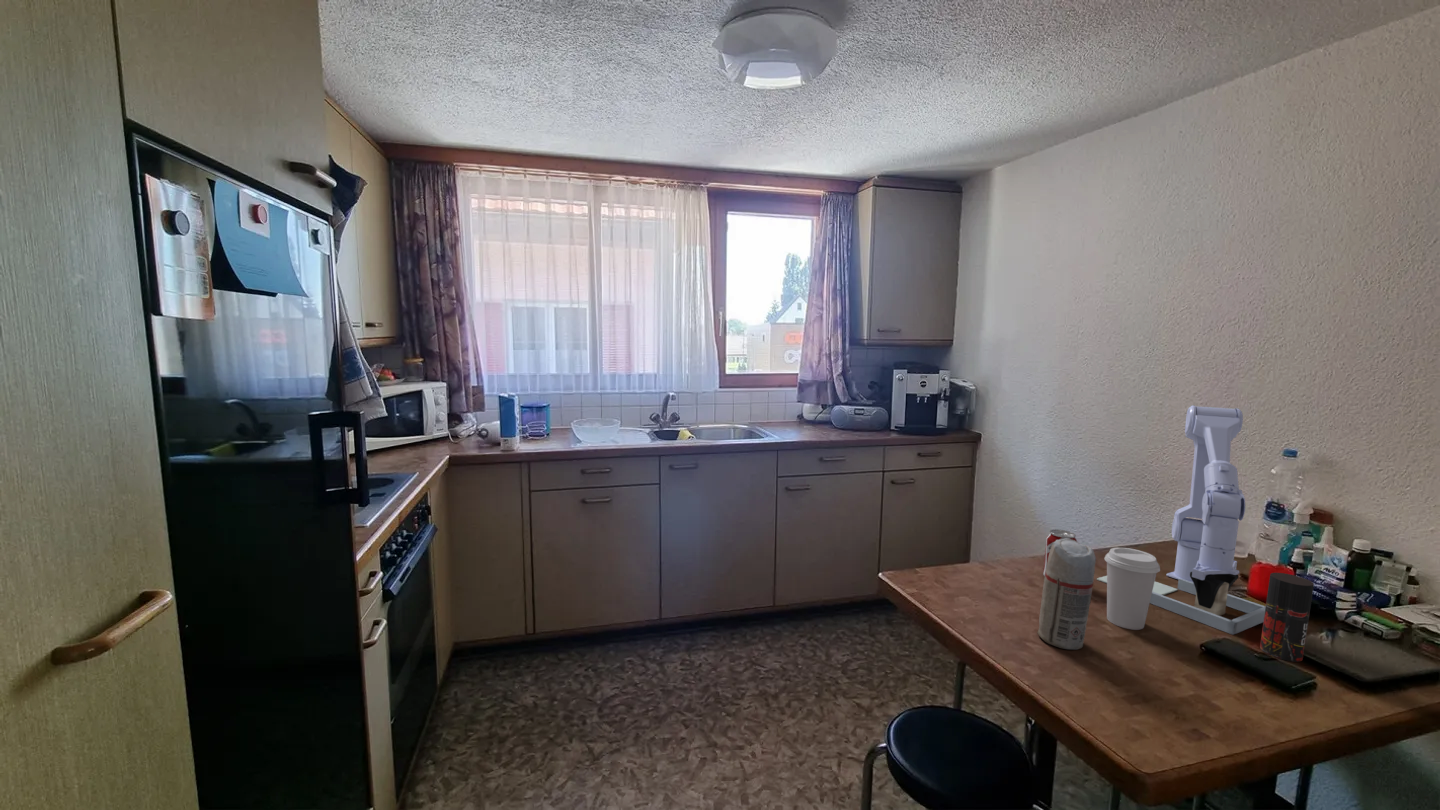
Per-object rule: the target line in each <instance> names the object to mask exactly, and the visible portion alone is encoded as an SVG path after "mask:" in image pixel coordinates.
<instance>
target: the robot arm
mask: <svg viewBox="0 0 1440 810" xmlns="http://www.w3.org/2000/svg"><path fill="white" fill-rule="evenodd" d="M1243 421H1244V414H1243V411H1242V410H1241V409H1240V408H1237V407H1236V408H1230V407H1228V408H1227V407H1214V406H1213V407H1210V406H1198V405H1190V407H1188V408H1187V412H1186V416H1185V426H1184V434H1185V438H1188V439H1190V440H1192V441H1193V446H1194V447H1193V448H1194V452H1193V462H1192V472H1191V473H1192V474H1191V482H1190V483H1191V485H1190V493H1189V494H1190V495H1189V504H1187V505H1185V506H1183V507H1180V508H1178V509H1176V511H1175V512H1174V515H1173V516H1174V517H1173V520H1172V523H1171V536H1172V539H1173V540H1174V541H1175V542H1177V549H1176V557H1175V565H1174V570H1173V571H1171V572H1167V573H1166V577H1170V578H1172V579H1176V580H1179V579H1180V578H1181V579H1184V580H1187V581H1190V582H1193V583H1194V585H1195V588H1196V592H1197V598H1198V603H1199V605H1200V606H1203V607H1206V608H1209V609H1210V608H1211V607H1212V606H1213V603H1214V600H1215V597H1216V594H1217V592H1218V590H1219V588H1220V587H1221V585H1222V584H1223V583H1224V582H1226V583H1229V587H1228V591H1229V590H1230V589H1231V587H1232V586H1233V584H1234V583H1235V582H1236V581H1237V580H1239V575H1240V570H1238V569H1237V566H1238V565H1237V564H1238V561H1237V560H1235V555H1236V554H1235V553H1236V547H1237V540H1238V539H1237V537H1238V531H1239V526H1240V525H1239V523H1240V521H1242V520H1243V519H1244V516H1245V513H1246V498H1245V494H1244V493H1243V490H1242V489H1240V485H1239V475H1238V474H1239V473H1238V468H1237V467H1236V466H1235V465H1234V464H1232V463H1231V444H1232V443H1231V441H1233V440H1234V439H1235V438H1237V435H1238V434H1239V433H1240V432H1241V430H1242V429H1243V424H1244V423H1243Z"/></svg>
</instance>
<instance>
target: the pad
mask: <svg viewBox="0 0 1440 810" xmlns="http://www.w3.org/2000/svg"><path fill="white" fill-rule="evenodd" d="M1096 580H1097V581H1099V582H1102V583H1105V584H1107V575H1103V576H1099V577H1098V578H1096ZM1178 590H1179V589H1177V588H1175V587H1172V586H1170V585H1166V584H1164V583H1161V582H1158V581H1156V580H1155V582H1154V586H1153V590H1152V592H1155V593H1158V594H1161V595H1163V596H1166V595H1168V594H1171V593H1174V592H1177V591H1178Z"/></svg>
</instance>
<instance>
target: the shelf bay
mask: <svg viewBox="0 0 1440 810" xmlns="http://www.w3.org/2000/svg"><path fill="white" fill-rule="evenodd" d="M1177 580H1178V579H1177ZM1176 589H1178V590H1179V591H1181V592H1185V593H1189V594H1192V595H1194V596H1196V588H1195V585H1194V583H1193V582H1190V581H1187V580H1184V579H1181V578H1180V579H1179V580H1178V582H1177V588H1176ZM1149 604H1151V605H1154V606H1155V607H1159V608H1162V609H1165V610H1167V611H1169V612H1172V613H1175V614H1177V615H1179V616H1183V617H1185V618H1188V619H1191V620H1193V621H1196V622H1198V623H1200V624H1204V625H1205V626H1209V627H1212V628H1214V629H1217V630H1218V631H1222V632H1225V633H1227V634H1230V635H1232V636H1233V635H1236V634H1238V633H1241V632H1243V631H1245V630H1248V629H1250V628H1252V627H1255V626H1257V625H1259V624H1263V622H1264V615H1265V608H1266V605H1263V604H1259V603H1257V602H1253V601H1250V600H1248V599H1244V598H1241V597H1238V596H1235V595H1232V594H1229V593H1228V594H1227V602H1226V607H1229V608H1232V609H1234V610H1236V611H1237V610H1238V611H1240V612H1243V613H1245V614H1243V615H1240V616H1238V617H1236V618H1233V619H1229V618H1227V617H1224V616H1222V615H1220V616H1218V615H1215V614H1213V613H1210V612H1207V611H1204V610H1202V609H1199V608H1196V607H1194V605H1191V604H1187V603H1185V602H1182V601H1179V600H1176V599H1174V598H1171V597H1169V596H1166V595H1161V594H1158V593H1155V592H1152V595H1151V599H1150V603H1149Z"/></svg>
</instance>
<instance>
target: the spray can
mask: <svg viewBox="0 0 1440 810" xmlns="http://www.w3.org/2000/svg"><path fill="white" fill-rule="evenodd" d="M1096 560H1097V557H1096V554H1095V552H1094V549H1093V548H1092V547H1091V546H1090V545H1087V544H1082V543H1080V542H1078V540H1077V541H1075V540H1072V539H1067V538H1065V539H1061V540H1056V541H1055V542H1054V543H1053V544H1052V547H1051V549H1050V553H1049V557H1048V562H1047V568H1046V572H1045V576H1044V578H1043V586H1042V592H1041V593H1042V594H1041V603H1040V609H1039V618H1038V625H1039V626H1038V630H1037V632H1036V633H1037V635H1038V636H1039V637H1040V639H1042V640H1043V641H1044V643H1047V644H1048V645H1052V646H1054V647H1057V648H1059V649H1064V650H1081V649H1082V648H1083V647H1084V641H1085V636H1086V630H1087V622H1088V617H1089V611H1090V605H1091V598H1092V593H1093V586H1094V579H1095V578H1094V577H1095V569H1096V568H1095V567H1096V562H1097V561H1096Z"/></svg>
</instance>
